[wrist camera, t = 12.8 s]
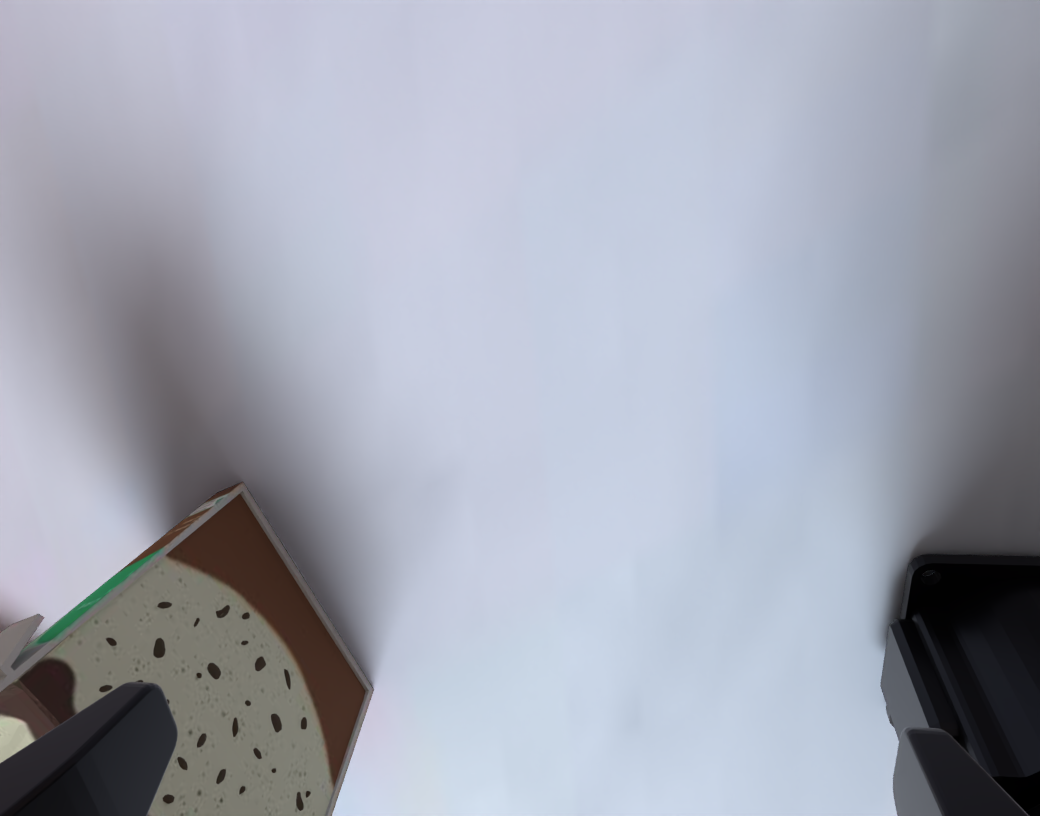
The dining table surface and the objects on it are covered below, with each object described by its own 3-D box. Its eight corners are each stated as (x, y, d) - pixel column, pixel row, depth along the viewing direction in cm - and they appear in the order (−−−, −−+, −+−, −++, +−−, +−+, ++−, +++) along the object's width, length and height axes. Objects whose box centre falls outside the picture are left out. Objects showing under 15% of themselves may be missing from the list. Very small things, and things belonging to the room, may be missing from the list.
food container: (76, 491, 26) (-221, 729, 17) (218, 443, 24) (-34, 681, 15) (259, 743, 31) (96, 1035, 22) (392, 718, 29) (273, 1027, 20)
